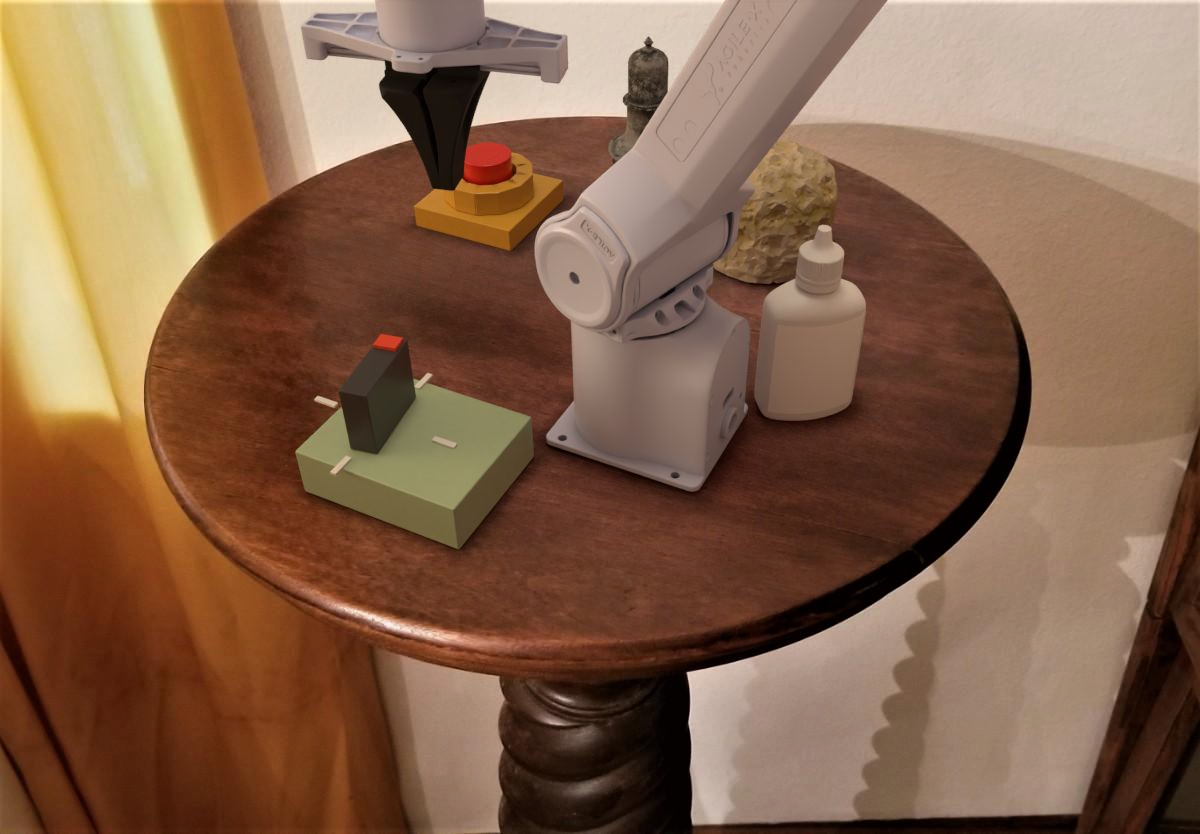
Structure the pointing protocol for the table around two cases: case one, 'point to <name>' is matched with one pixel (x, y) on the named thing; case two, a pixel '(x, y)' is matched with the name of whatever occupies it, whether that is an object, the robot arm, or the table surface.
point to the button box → (493, 207)
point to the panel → (423, 464)
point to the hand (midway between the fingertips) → (448, 181)
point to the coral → (781, 214)
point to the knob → (378, 393)
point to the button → (487, 164)
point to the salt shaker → (641, 95)
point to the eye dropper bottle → (810, 337)
